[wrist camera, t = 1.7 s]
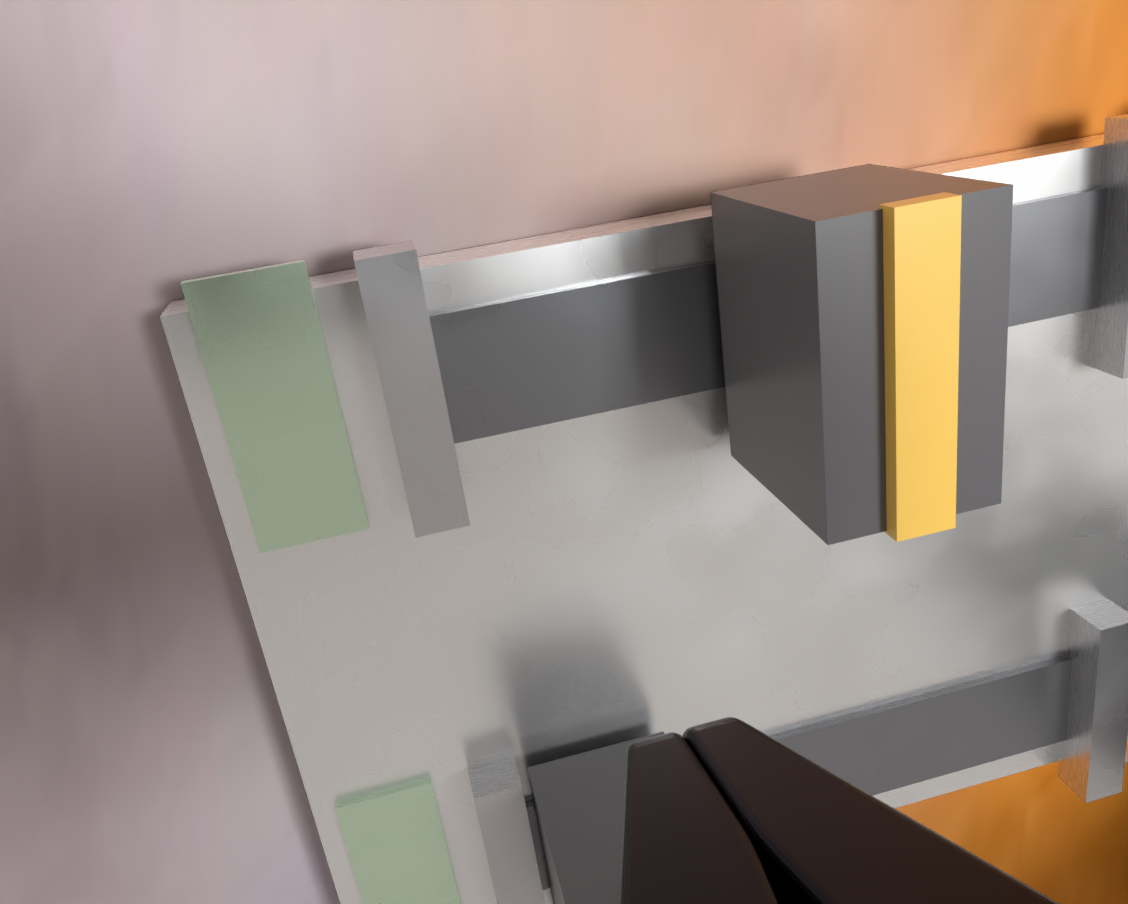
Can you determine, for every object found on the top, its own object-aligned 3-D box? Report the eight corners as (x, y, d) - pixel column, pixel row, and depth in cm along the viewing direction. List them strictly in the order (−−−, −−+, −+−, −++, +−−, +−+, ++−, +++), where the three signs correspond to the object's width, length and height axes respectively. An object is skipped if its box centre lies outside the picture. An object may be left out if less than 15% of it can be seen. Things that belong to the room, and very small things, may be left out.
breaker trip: (869, 161, 17) (1027, 183, 13) (873, 425, 19) (1013, 513, 15) (709, 188, 17) (824, 220, 13) (730, 457, 19) (837, 556, 15)
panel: (1244, 83, 20) (1345, 83, 18) (1167, 706, 26) (1237, 758, 24) (162, 273, 17) (139, 299, 15) (361, 936, 23) (364, 1017, 21)
